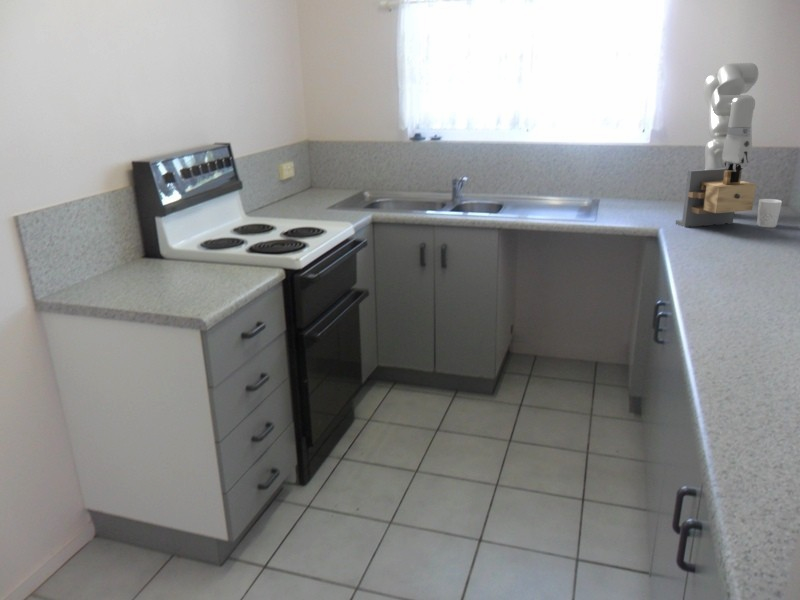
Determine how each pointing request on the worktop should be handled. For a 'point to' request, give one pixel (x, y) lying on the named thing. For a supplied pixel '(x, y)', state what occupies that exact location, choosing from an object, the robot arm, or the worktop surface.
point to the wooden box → (728, 195)
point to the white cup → (768, 212)
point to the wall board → (701, 200)
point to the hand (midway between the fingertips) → (731, 181)
